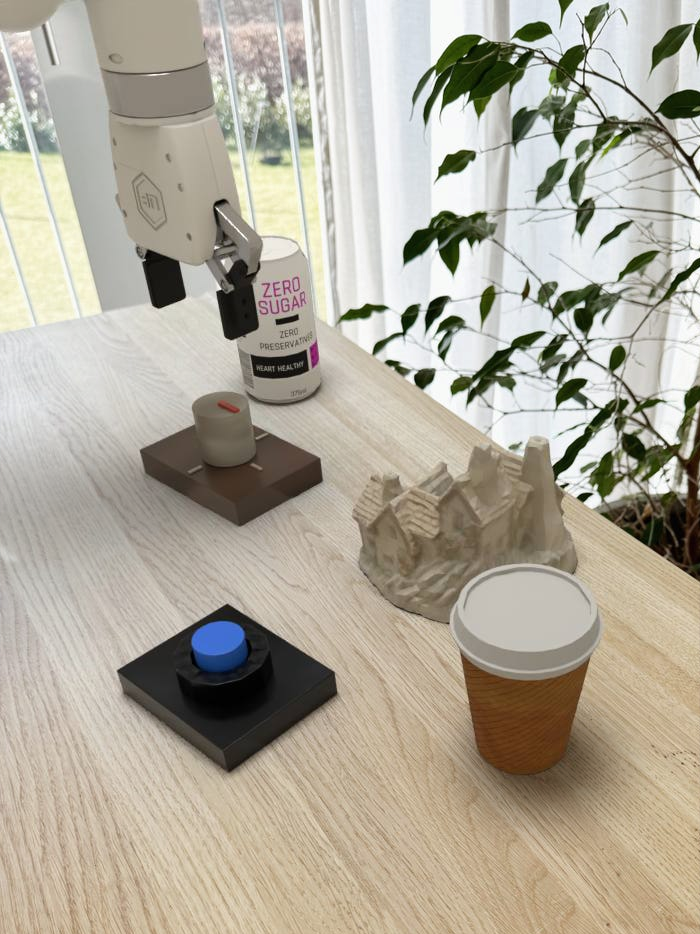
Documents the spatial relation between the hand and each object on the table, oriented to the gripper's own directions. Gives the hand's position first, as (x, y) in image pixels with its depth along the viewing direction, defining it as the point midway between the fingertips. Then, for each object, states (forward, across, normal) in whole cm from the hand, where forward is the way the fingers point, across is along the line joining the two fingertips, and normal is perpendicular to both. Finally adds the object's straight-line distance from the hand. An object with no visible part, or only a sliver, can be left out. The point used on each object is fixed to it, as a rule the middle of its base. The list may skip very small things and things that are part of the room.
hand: (205, 318), depth 84 cm
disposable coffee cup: (+16, +41, -9) cm, 45 cm away
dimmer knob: (+13, -1, 0) cm, 13 cm away
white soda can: (+16, -11, +15) cm, 25 cm away
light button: (+12, +22, -19) cm, 32 cm away
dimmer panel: (+16, -1, 0) cm, 16 cm away
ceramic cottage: (+16, +25, +4) cm, 30 cm away
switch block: (+16, +22, -19) cm, 33 cm away
